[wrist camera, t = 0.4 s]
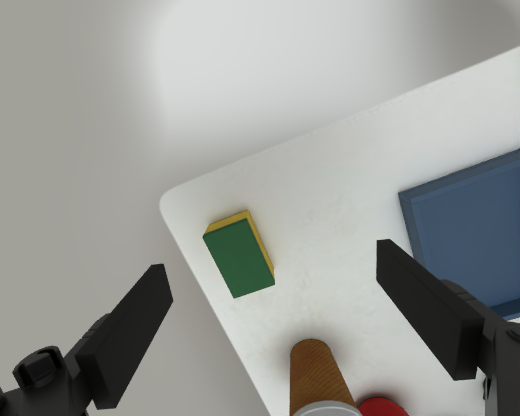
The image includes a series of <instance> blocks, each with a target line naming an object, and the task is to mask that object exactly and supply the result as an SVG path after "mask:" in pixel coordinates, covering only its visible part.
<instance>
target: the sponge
mask: <svg viewBox="0 0 520 416" xmlns="http://www.w3.org/2000/svg"><path fill="white" fill-rule="evenodd" d="M203 239H204V241H205V243H206V245H207V247H208V249H209V251H210V253H211V255H212V257H213V259H214V261H215V263H216V265H217V267H218V269H219V271H220V272H221V274H222V276H223V278H224V280H225V282H226V284H227V286H228V288H229V290H230V292H231V294H232V296H233V298H234V299H235V298H237V297H240V296H243V295H246V294H249V293H252V292H255V291H258V290H261V289H264V288H267V287H270V286H273V285H275V279H274V267H273V265H272V263H271V260H270V258H269V256H268V254H267V251H266V249H265V247H264V245H263V242H262V240H261V238H260V235H259V233H258V231H257V229H256V226H255V224H254V222H253V220H252V217H251V215H250V213H249V210H246V211H244V212H241V213H238V214H236V215H233V216H231V217H228V218H225V219H223V220H220V221H218V222H215V223H212V224H210V225H209V226H208V228H207V230H206V232H205V233H204V235H203Z"/></svg>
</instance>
